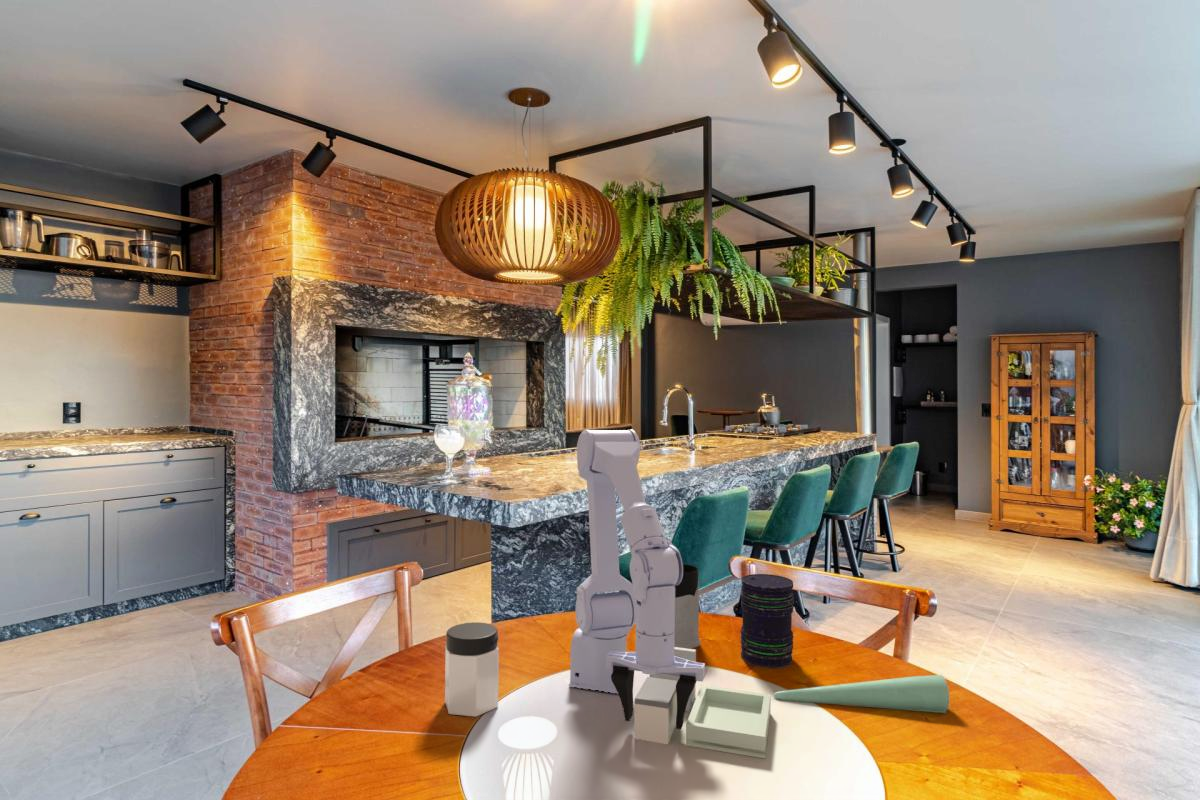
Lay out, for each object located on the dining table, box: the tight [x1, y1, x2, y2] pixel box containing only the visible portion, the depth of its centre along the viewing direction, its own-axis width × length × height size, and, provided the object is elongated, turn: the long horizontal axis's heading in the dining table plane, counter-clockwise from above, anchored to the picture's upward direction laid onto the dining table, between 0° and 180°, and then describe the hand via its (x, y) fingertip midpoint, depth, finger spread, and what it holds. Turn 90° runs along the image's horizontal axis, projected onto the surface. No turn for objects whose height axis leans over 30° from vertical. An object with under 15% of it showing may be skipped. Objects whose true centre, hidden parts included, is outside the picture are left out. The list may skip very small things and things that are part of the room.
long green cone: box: [773, 674, 950, 714], centre depth 110 cm, size 5×6×27 cm
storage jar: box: [739, 573, 795, 669], centre depth 129 cm, size 10×10×15 cm
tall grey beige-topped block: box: [633, 676, 677, 745], centre depth 101 cm, size 5×8×6 cm, turn 163°
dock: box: [649, 647, 697, 713], centre depth 110 cm, size 8×5×8 cm
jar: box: [444, 621, 500, 718], centre depth 108 cm, size 9×8×12 cm
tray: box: [685, 684, 772, 760], centre depth 101 cm, size 11×14×3 cm
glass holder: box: [674, 563, 702, 649], centre depth 137 cm, size 9×14×15 cm, turn 102°
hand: (654, 721), depth 99 cm, fingers open, 7 cm apart
